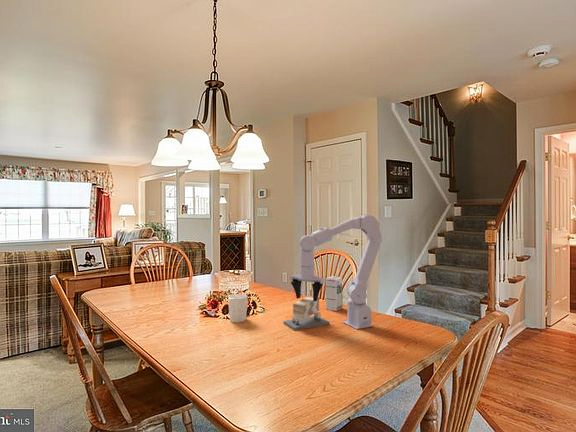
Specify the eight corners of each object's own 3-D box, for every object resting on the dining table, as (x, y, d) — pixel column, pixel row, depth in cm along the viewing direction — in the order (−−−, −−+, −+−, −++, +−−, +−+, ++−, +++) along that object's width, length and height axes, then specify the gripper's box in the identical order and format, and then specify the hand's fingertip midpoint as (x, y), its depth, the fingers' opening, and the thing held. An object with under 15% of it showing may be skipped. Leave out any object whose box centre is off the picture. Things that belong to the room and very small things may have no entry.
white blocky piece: (303, 319, 139) (303, 305, 139) (293, 317, 141) (293, 303, 141) (318, 310, 151) (319, 297, 151) (309, 309, 153) (309, 296, 153)
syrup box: (336, 311, 164) (336, 279, 163) (325, 309, 167) (325, 277, 167) (342, 308, 168) (342, 277, 168) (331, 306, 172) (331, 275, 172)
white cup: (224, 321, 150) (224, 297, 149) (235, 316, 157) (235, 293, 156) (240, 324, 146) (240, 299, 146) (251, 318, 153) (251, 295, 153)
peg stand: (317, 318, 154) (317, 308, 154) (329, 324, 146) (329, 314, 146) (283, 323, 147) (283, 313, 147) (294, 330, 139) (294, 320, 139)
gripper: (327, 265, 146) (327, 299, 146) (296, 262, 153) (296, 294, 154) (320, 268, 140) (319, 303, 140) (287, 265, 147) (287, 298, 147)
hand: (306, 299), depth 146 cm, fingers open, 7 cm apart
